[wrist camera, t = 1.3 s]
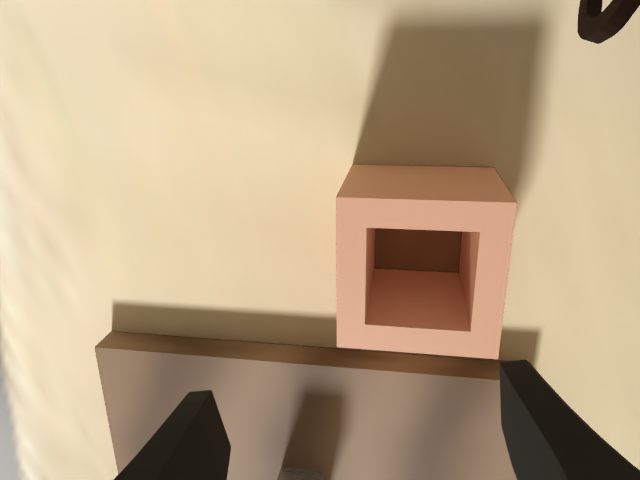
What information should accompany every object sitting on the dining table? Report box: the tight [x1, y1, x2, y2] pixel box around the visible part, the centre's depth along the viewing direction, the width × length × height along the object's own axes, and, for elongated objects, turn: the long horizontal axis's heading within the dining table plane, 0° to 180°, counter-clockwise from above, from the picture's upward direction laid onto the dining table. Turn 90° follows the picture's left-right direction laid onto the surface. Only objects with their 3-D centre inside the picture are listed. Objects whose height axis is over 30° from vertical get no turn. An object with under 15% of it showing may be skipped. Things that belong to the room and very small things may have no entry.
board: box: [95, 332, 517, 480], centre depth 27 cm, size 20×14×2 cm
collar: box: [336, 165, 517, 359], centre depth 20 cm, size 6×6×5 cm
